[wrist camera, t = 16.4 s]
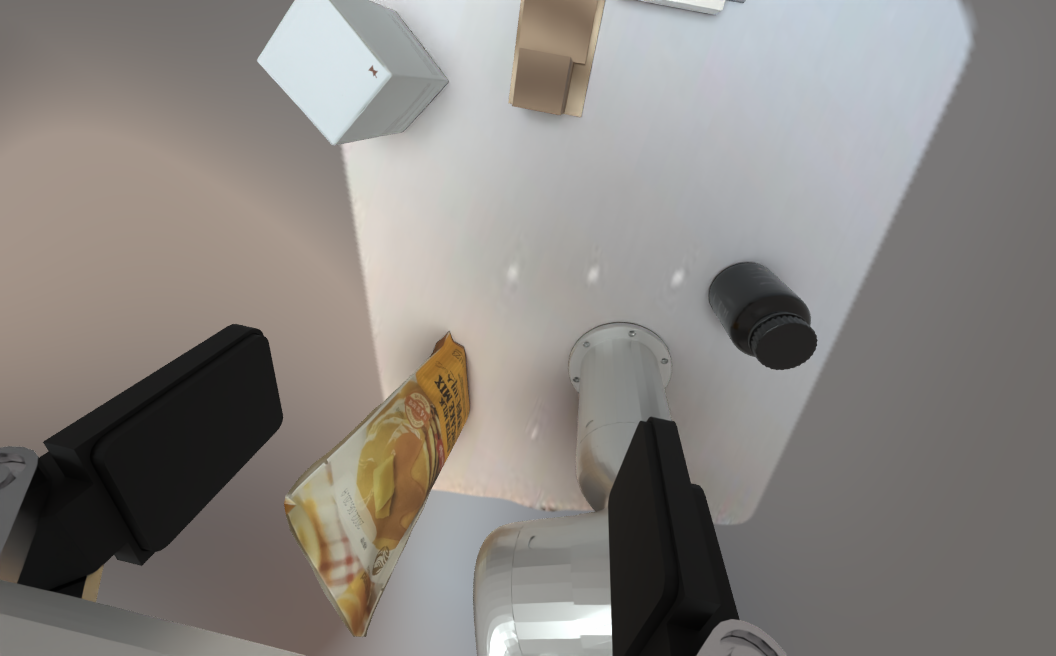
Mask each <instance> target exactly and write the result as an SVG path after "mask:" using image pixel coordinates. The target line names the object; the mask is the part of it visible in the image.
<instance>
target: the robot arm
mask: <svg viewBox="0 0 1056 656" xmlns="http://www.w3.org/2000/svg"><path fill="white" fill-rule="evenodd" d="M631 330H633V331H631ZM585 341H588V342H585ZM568 371H569V376H570V380H571V382H572V384H573V386H574V388H575V389H576V390H577V392H578V393H579V408H578V427H577V446H576V476H577V481H578V484H579V487H580V489H581V491H582V493H583V495H584V497H585V498H586V500H587V502H588V503H589V504H590V506H591V507H592V508H593V509H594V511H595V512H591V513H585V514H579V515H575V516H566V517H557V518H547V519H538V520H529V521H522V522H515V523H511V524H506V525H503V526H501V527H499V528H497V529H495V530H494V531H492V532H491V533H490V534H489V535H488V536H487V537H486V539H485V540H484V542H483V544H482V546H481V548H480V551H479V554H478V556H477V560H476V566H475V571H474V582H473V584H474V585H473V606H474V607H473V609H474V625H475V637H476V650H477V656H787V654H786V653H785V651H784V650H783V649H782V648H781V647H780V646H779V645H778V644H777V643H776V642H775V641H774V639H772V638H771V637H770V636H769V635H768V634H766V633H765V632H764V631H762V630H761V629H760V628H758V627H756V626H754V625H752V624H750V623H747V622H746V621H740V620H739V616H738V613H737V609H736V605H735V602H734V598H733V594H732V591H731V587H730V584H729V580H728V576H727V573H726V569H725V565H724V562H723V558H722V554H721V551H720V547H719V544H718V540H717V537H716V533H715V529H714V525H713V522H712V518H711V515H710V511H709V507H708V504H707V500H706V496H705V494H704V491H703V489H702V488H701V487H700V486H699V485H696V484H691V482H690V478H689V474H688V470H687V466H686V462H685V458H684V454H683V450H682V446H681V442H680V438H679V434H678V429H677V426H676V423H675V422H674V421H672V420H671V415H670V411H669V407H668V403H667V398H666V394H665V390H664V389H665V388H666V386H667V384H668V383H669V380H670V377H671V374H672V362H671V357H670V354H669V351H668V349H667V347H666V346H665V344H664V342H663V341H662V340H661V339H660V338H659V337H658V336H657V335H656V334H654V333H653V332H651V331H650V330H648V329H646V328H643V327H641V326H638V325H634V324H628V323H612V324H607V325H603V326H599V327H597V328H595V329H593V330H591V331H589V332H588V333H586V334H585V335H583V336H582V337H581V338H580V339H579V340H578V341H577V343H576V344H575V346H574V347H573V349H572V352H571V354H570V358H569V369H568ZM282 420H283V413H282V408H281V403H280V398H279V393H278V388H277V383H276V378H275V372H274V367H273V362H272V357H271V352H270V347H269V342H268V340H267V338H266V337H264V335H263V333H262V332H261V330H259V329H256V328H252V327H246V326H243V325H238V324H232V325H230V326H227V327H226V328H224V329H223V330H221V331H220V332H218V333H217V334H215V335H213V336H212V337H210V338H209V339H207V340H205V341H204V342H202V343H200V344H199V345H197V346H196V347H194V348H192V349H191V350H189V351H188V352H186V353H184V354H183V355H181V356H180V357H178V358H176V359H175V360H173V361H172V362H170V363H168V364H167V365H165V366H164V367H162V368H160V369H159V370H157V371H156V372H154V373H152V374H151V375H150V376H148V377H146V378H145V379H143V380H141V381H140V382H138V383H136V384H135V385H133V386H132V387H130V388H128V389H127V390H125V391H124V392H122V393H121V394H119V395H117V396H116V397H114V398H112V399H111V400H109V401H108V402H106V403H104V404H103V405H101V406H100V407H98V408H96V409H95V410H93V411H92V412H90V413H88V414H87V415H85V416H84V417H82V418H80V419H79V420H77V421H76V422H74V423H72V424H71V425H70V426H68V427H66V428H64V429H63V430H61V431H60V432H58V433H56V434H55V435H53V436H52V437H50V438H48V439H47V440H45V441H44V442H43V443H44V444H45V446H46V448H47V449H48V451H49V452H47V453H46V454H44V455H43V456H41V457H40V458H39V457H38V456H37V454H36V453H35V452H34V451H33V450H31V449H27V448H25V447H10V446H9V447H1V448H0V656H306V655H302V654H298V653H294V652H290V651H286V650H282V649H278V648H274V647H271V646H267V645H262V644H259V643H255V642H251V641H247V640H243V639H239V638H235V637H231V636H227V635H224V634H220V633H216V632H212V631H208V630H204V629H200V628H196V627H192V626H188V625H184V624H180V623H176V622H172V621H168V620H164V619H160V618H156V617H152V616H148V615H144V614H140V613H136V612H132V611H128V610H124V609H120V608H116V607H112V606H108V605H104V604H100V603H96V599H97V594H98V589H99V584H100V580H101V575H102V570H103V566H104V564H105V563H106V562H107V561H108V560H109V559H110V558H111V557H112V556H113V555H115V556H116V558H117V560H121V561H125V562H129V563H133V564H137V565H141V566H142V565H143V564H144V563H145V562H146V561H147V560H148V559H149V558H150V557H151V556H152V555H153V554H154V553H155V552H157V551H160V550H162V549H164V548H165V547H166V546H168V544H170V543H171V542H172V541H173V540H174V538H176V536H177V535H178V534H179V533H180V532H181V531H182V530H183V529H184V528H185V527H186V526H187V525H188V524H189V523H190V522H191V521H192V520H193V518H195V516H196V515H197V514H198V513H199V512H200V511H201V510H202V509H203V508H204V507H205V506H206V505H207V504H208V503H209V502H210V501H211V500H212V498H213V497H215V495H216V494H217V493H218V492H219V491H220V490H221V489H222V488H223V487H224V486H225V485H226V484H227V483H228V482H229V481H230V480H231V479H232V477H234V476H235V474H236V473H237V472H238V471H239V470H240V469H241V468H242V467H243V466H244V465H245V464H246V463H247V462H248V461H249V460H250V459H251V458H252V456H253V455H254V454H255V453H256V452H257V451H258V450H259V449H260V448H261V447H262V446H263V445H264V444H265V443H266V442H267V441H268V440H269V439H270V438H271V437H272V436H273V434H274V433H275V432H276V431H277V430H278V429H279V427H280V426H281V424H282Z"/></svg>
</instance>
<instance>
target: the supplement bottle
mask: <svg viewBox="0 0 1056 656" xmlns="http://www.w3.org/2000/svg"><path fill="white" fill-rule="evenodd" d="M709 301H710V304H711V307H712V309H713V310H714V312H715V314H716V316H717V317H718V319H719V321H720V322H721V324H722V326H723V327H724V329H725V331H726V332H727V334H728V336H729V337H730V339H731V340H732V342H733V343H734V345H735V346H736V347H737V348H738V349H739V350H740V351H742V352H743V353H745V354H747V355H750V356H753V357H756V358H757V359H758V361H760V362H761V364H763V365H765V366H766V367H770V368H771V369H776V370H779V369H780V370H784V369H790V368H794V367H796V366H799V365H801V364H802V363H804V362H806V360H808V359H809V358H810V356H812V355H813V352H814V351H815V350H816V346H817V341H818V340H817V335H816V334H815V332H814V330H813V329H812V328H811V327H810V324H811V316H810V312H809V309H808V307H807V306H806V304H805V303H804V302H803V301H802V300H801V299H800V298H799V297H798V296H797V295H796V294H795V293H794V292H793V291H792V290H791V289H789V288H788V287H787V286H786V285H785V284H784V283H783V282H782V281H781V280H780V279H779V278H778V277H776V276H775V275H774V274H773V273H772V272H771V271H770V270H768V269H767V268H766V267H764V266H762V265H759V264H755V263H741V264H737V265H734V266H731V267H729V268H727V269H726V270H724V271H723V272H722V273H720V274H719V275H718V276H717V278H716V279H715V280H714V282H713V283H712V285H711V288H710V292H709Z"/></svg>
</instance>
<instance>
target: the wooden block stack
mask: <svg viewBox="0 0 1056 656" xmlns="http://www.w3.org/2000/svg"><path fill="white" fill-rule="evenodd" d="M597 2H598V0H524V7H523V15H522V23H521V31H520V39H519V47H518V52H519V56H518V64H517V72H516V80H515V88H514V96H513V104H512V106H515V107H520V108H525V109H530V110H536V111H541V112H546V113H551V114H556V115H561V114H563V113H565V109H566V104H567V98H568V93H569V88H570V82H571V77H572V71H573V66H574V63H579V64H584V65H585V63H586V58H587V53H588V48H589V43H590V37H591V32H592V27H593V22H594V17H595V12H596V7H597Z"/></svg>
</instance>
